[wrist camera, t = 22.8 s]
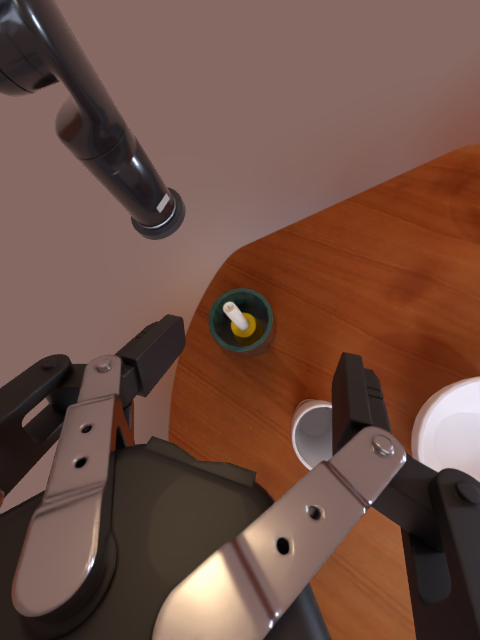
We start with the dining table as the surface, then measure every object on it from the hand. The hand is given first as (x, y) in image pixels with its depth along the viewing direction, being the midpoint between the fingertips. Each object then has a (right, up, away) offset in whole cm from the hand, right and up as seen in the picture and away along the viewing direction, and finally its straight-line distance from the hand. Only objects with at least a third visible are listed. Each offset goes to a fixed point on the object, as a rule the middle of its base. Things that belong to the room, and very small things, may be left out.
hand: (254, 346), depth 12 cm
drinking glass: (+11, -14, +26) cm, 31 cm away
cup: (+1, -1, +31) cm, 31 cm away
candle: (+1, -1, +30) cm, 30 cm away
